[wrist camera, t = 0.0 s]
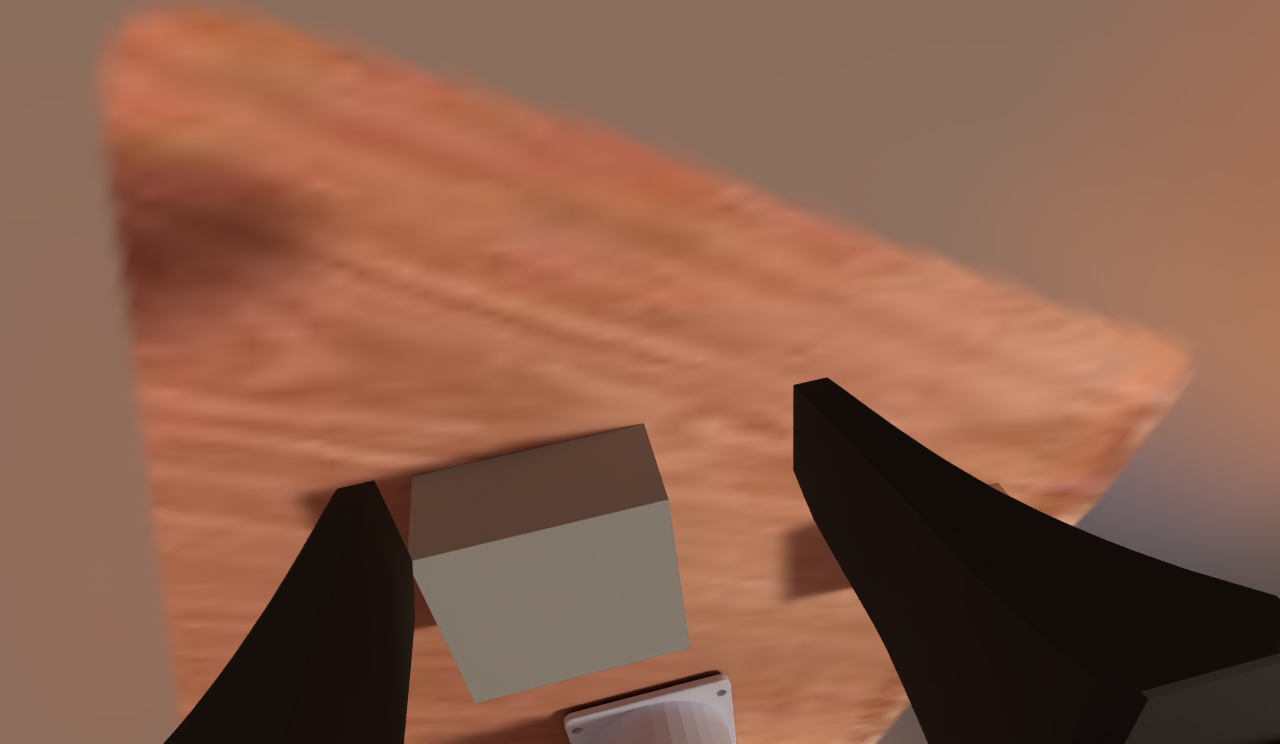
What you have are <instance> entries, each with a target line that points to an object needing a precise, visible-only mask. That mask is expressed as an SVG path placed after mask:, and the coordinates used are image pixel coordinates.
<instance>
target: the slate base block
mask: <svg viewBox="0 0 1280 744" xmlns="http://www.w3.org/2000/svg"><path fill="white" fill-rule="evenodd" d="M408 552H409V554H410V557H411V559H412V562H413V576H414V578H415V580H416V582H417V584H418V586H419V588H420V590H421V592H422V594H423V596H424V598H425V601H426V603H427V605H428V607H429V609H430V611H431V613H432V615H433V617H434V619H435V621H436V623H437V625H438V627H439V629H440V631H441V633H442V636H443V638H444V640H445V642H446V644H447V646H448V648H449V650H450V652H451V654H452V656H453V658H454V660H455V662H456V664H457V666H458V668H459V671H460V673H461V675H462V677H463V679H464V681H465V683H466V685H467V687H468V689H469V691H470V693H471V695H472V697H473V699H474V701H475V703H479V702H483V701H487V700H491V699H495V698H499V697H503V696H507V695H510V694H514V693H518V692H522V691H526V690H530V689H534V688H538V687H541V686H545V685H549V684H553V683H557V682H561V681H565V680H569V679H573V678H576V677H580V676H584V675H588V674H592V673H596V672H600V671H604V670H607V669H611V668H615V667H619V666H623V665H627V664H631V663H635V662H639V661H642V660H646V659H650V658H654V657H658V656H662V655H666V654H670V653H673V652H677V651H681V650H685V649H689V648H690V644H689V638H688V631H687V624H686V617H685V610H684V603H683V596H682V589H681V583H680V576H679V569H678V562H677V555H676V548H675V541H674V534H673V528H672V521H671V514H670V507H669V500H668V497H667V494H666V491H665V487H664V484H663V481H662V478H661V475H660V472H659V469H658V466H657V463H656V460H655V456H654V453H653V450H652V447H651V444H650V441H649V438H648V435H647V432H646V429H645V425H644V424H639V425H635V426H631V427H626V428H622V429H617V430H613V431H609V432H604V433H600V434H596V435H591V436H587V437H583V438H578V439H574V440H569V441H565V442H561V443H556V444H552V445H548V446H543V447H539V448H534V449H530V450H526V451H521V452H517V453H513V454H508V455H504V456H499V457H495V458H491V459H486V460H482V461H478V462H473V463H469V464H465V465H460V466H456V467H451V468H447V469H443V470H438V471H434V472H430V473H425V474H421V475H416V476H412V486H411V502H410V519H409V535H408Z"/></svg>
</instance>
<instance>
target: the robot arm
mask: <svg viewBox="0 0 1280 744" xmlns="http://www.w3.org/2000/svg"><path fill="white" fill-rule="evenodd" d="M793 470H794V473H795V475H796V478H797V480H798V483H799V485H800V488H801V490H802V493H803V495H804V498H805V500H806V502H807V505H808V507H809V509H810V512H811V514H812V516H813V519H814V521H815V523H816V524H817V526H818V528H819V530H820V532H821V533H822V535H823V537H824V539H825V540H826V542H827V544H828V546H829V547H830V549H831V551H832V553H833V554H834V556H835V558H836V560H837V561H838V563H839V565H840V567H841V568H842V570H843V572H844V574H845V575H846V577H847V579H848V581H849V582H850V584H851V586H852V588H853V589H854V591H855V593H856V594H857V596H858V598H859V600H860V601H861V603H862V605H863V607H864V608H865V610H866V612H867V614H868V615H869V617H870V619H871V621H872V622H873V624H874V626H875V628H876V630H877V632H878V633H879V635H880V637H881V639H882V641H883V643H884V645H885V647H886V649H887V651H888V653H889V655H890V658H891V660H892V662H893V664H894V667H895V669H896V671H897V673H898V675H899V678H900V680H901V682H902V684H903V687H904V689H905V691H906V693H907V696H908V698H909V700H910V702H911V705H912V707H913V709H914V712H915V714H916V716H917V718H918V721H919V723H920V726H921V728H922V730H923V732H924V735H925V737H926V740H927V742H928V744H1280V599H1279V598H1278V597H1277V596H1275V595H1271V594H1268V593H1265V592H1262V591H1258V590H1255V589H1251V588H1248V587H1245V586H1241V585H1238V584H1234V583H1231V582H1227V581H1224V580H1221V579H1217V578H1214V577H1210V576H1207V575H1204V574H1200V573H1197V572H1194V571H1191V570H1187V569H1184V568H1181V567H1178V566H1175V565H1173V564H1170V563H1167V562H1164V561H1161V560H1158V559H1156V558H1153V557H1149V556H1147V555H1144V554H1141V553H1139V552H1135V551H1133V550H1130V549H1128V548H1125V547H1123V546H1120V545H1117V544H1115V543H1112V542H1109V541H1107V540H1104V539H1102V538H1100V537H1097V536H1095V535H1092V534H1090V533H1088V532H1086V531H1083V530H1081V529H1078V528H1076V527H1074V526H1071V525H1069V524H1067V523H1064V522H1062V521H1060V520H1058V519H1055V518H1053V517H1051V516H1049V515H1047V514H1044V513H1042V512H1040V511H1038V510H1036V509H1034V508H1032V507H1030V506H1028V505H1026V504H1024V503H1022V502H1020V501H1018V500H1016V499H1014V498H1012V497H1010V496H1008V495H1006V494H1004V493H1002V492H1000V491H998V490H996V489H995V488H993V487H991V486H989V485H987V484H986V483H984V482H982V481H980V480H978V479H977V478H975V477H973V476H972V475H970V474H968V473H966V472H965V471H963V470H961V469H960V468H958V467H956V466H955V465H953V464H951V463H950V462H948V461H946V460H945V459H943V458H941V457H940V456H938V455H937V454H935V453H934V452H932V451H931V450H929V449H928V448H926V447H925V446H923V445H922V444H920V443H919V442H917V441H916V440H914V439H913V438H911V437H910V436H908V435H907V434H905V433H904V432H902V431H901V430H899V429H898V428H897V427H895V426H894V425H892V424H891V423H889V422H888V421H887V420H885V419H884V418H882V417H881V416H880V415H878V414H877V413H876V412H874V411H873V410H871V409H870V408H869V407H867V406H866V405H865V404H863V403H862V402H860V401H859V400H858V399H856V398H855V397H854V396H852V395H851V394H850V393H848V392H847V391H845V390H844V389H843V388H841V387H840V386H839V385H837V384H836V383H834V382H833V381H832V380H830V379H829V378H822V379H818V380H813V381H809V382H805V383H800V384H796V385H793ZM414 622H415V607H414V581H413V562H412V559H411V557H410V554H409V552H408V550H407V548H406V546H405V544H404V542H403V540H402V538H401V536H400V533H399V531H398V529H397V527H396V525H395V523H394V521H393V519H392V517H391V514H390V512H389V510H388V508H387V506H386V504H385V502H384V500H383V498H382V496H381V493H380V491H379V489H378V487H377V485H376V483H375V481H370V482H365V483H361V484H357V485H352V486H348V487H343V488H339V489H337V490H336V491H335V493H334V494H333V496H332V497H331V499H330V501H329V503H328V504H327V506H326V508H325V509H324V511H323V513H322V515H321V516H320V518H319V520H318V522H317V524H316V525H315V527H314V529H313V531H312V532H311V534H310V536H309V538H308V539H307V541H306V543H305V544H304V546H303V548H302V550H301V551H300V553H299V555H298V556H297V558H296V560H295V562H294V563H293V565H292V567H291V568H290V570H289V571H288V573H287V575H286V576H285V578H284V580H283V581H282V583H281V584H280V586H279V588H278V589H277V591H276V593H275V594H274V596H273V598H272V599H271V601H270V602H269V604H268V605H267V607H266V609H265V610H264V612H263V613H262V615H261V616H260V618H259V619H258V620H257V622H256V623H255V625H254V626H253V628H252V629H251V631H250V632H249V634H248V635H247V637H246V638H245V640H244V641H243V643H242V644H241V646H240V647H239V649H238V650H237V651H236V653H235V654H234V656H233V657H232V659H231V660H230V661H229V663H228V664H227V665H226V667H225V668H224V669H223V671H222V672H221V674H220V675H219V676H218V678H217V679H216V680H215V682H214V683H213V684H212V686H211V687H210V688H209V689H208V691H207V692H206V693H205V695H204V696H203V697H202V698H201V700H200V701H199V702H198V703H197V705H196V706H195V707H194V708H193V710H192V711H191V712H190V713H189V715H188V716H187V717H186V718H185V719H184V721H183V722H182V723H181V724H180V725H179V727H178V728H177V729H176V730H175V731H174V732H173V733H172V735H171V736H170V737H169V738H168V739H167V740H166V741H165V742H164V744H404V736H405V725H406V714H407V703H408V692H409V681H410V670H411V658H412V647H413V635H414ZM564 726H565V730H566V732H567V735H568V738H569V741H570V744H736V737H735V726H734V716H733V705H732V694H731V684H730V681H729V678H728V676H727V675H725V674H718V675H714V676H710V677H707V678H703V679H699V680H695V681H691V682H687V683H683V684H680V685H676V686H672V687H668V688H664V689H660V690H657V691H653V692H649V693H645V694H641V695H637V696H634V697H630V698H626V699H622V700H618V701H614V702H611V703H607V704H603V705H599V706H595V707H591V708H588V709H584V710H580V711H576V712H572V713H570V714H568V715H566V716H565V718H564Z"/></svg>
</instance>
